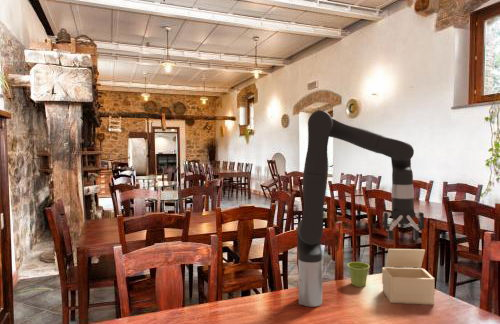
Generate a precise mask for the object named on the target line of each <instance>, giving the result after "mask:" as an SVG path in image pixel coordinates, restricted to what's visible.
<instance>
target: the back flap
mask: <svg viewBox="0 0 500 324" xmlns="http://www.w3.org/2000/svg"><path fill="white" fill-rule="evenodd" d="M425 253H426V249H422V248H421V249H420V248H414V249H413V248H388V250H387V255H386V261H385V267H388V268H422V263H423V261H424V256H425Z"/></svg>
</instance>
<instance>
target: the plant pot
mask: <svg viewBox="0 0 500 324" xmlns="http://www.w3.org/2000/svg"><path fill="white" fill-rule="evenodd" d="M347 268H348V270H349V276H350V282H351V283H350V284H351V285H352V286H354V287H359V288H362V287H365V286H366V285H367V277H368V272H369V269H370V265H369V264H368V263H365V262H361V261H351V262H348V263H347Z"/></svg>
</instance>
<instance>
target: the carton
mask: <svg viewBox="0 0 500 324" xmlns="http://www.w3.org/2000/svg"><path fill="white" fill-rule="evenodd" d="M381 270H382V271H381V273H382V275H381V277H382V278H381V281H382V283H381V284H382V292H383V293H384V295H385V296H386V297H387V299H388V301H389V303H391V304H405V305H407V304H410V305H411V304H412V305H432V306H433V305H435V290H436V289H435V284H436V283H435V279H436V278H435V277H434V276H433V275H431V273H429V272H428V271H427V270H426V269H425V268H423V267H386V266H385V267H381Z"/></svg>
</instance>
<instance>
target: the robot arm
mask: <svg viewBox="0 0 500 324" xmlns="http://www.w3.org/2000/svg"><path fill="white" fill-rule="evenodd" d="M307 128H308V129H307V135H308V137H307V139H308V140H307V142H308V143H307V149H306V150H307V151H306V156H305V161H304V168H303V176H302V178H303V179H302V198H303V213H302V218H301V220H299V222H298V224H297V228H296V233H297V235H296V236H297V237H296V240H297V241H296V242H297V245H296V246H297V257H298V258H297V259H298V260H297V262H298V305H301V306H305V307H312V308H313V307H319V306H321V305H322V304H323V253H322V247H321V246H322V245H321V239H322V237H323V235H324V234H323V233H324V223H323V222H324V221H323V220H324V218H323V217H324V213H323V212H324V204H325V198H326V193H327V192H326V191H327V185H328V176H329V175H328V174H329V161H328V157H329V156H328V144H329V138H334V139H337V140H341V141H344V142H346V143H349V144H352V145H354V146H356V147H359V148H361V149H364V150H368V151H370V152H372V153H375V154H379V155H383V156H386V157H388V158H390V160H391V168H392V169H391V170H392V174H391V211H390V212H388V211H387V212H386V211H383V212H382V223H381V224H382V228H383V229H385V230H387V237H388V239H389V240H390V241H394V230H393V229H394V228H395V227H397V226H398V225H404V224H405V225H411V226H412V228H413V229H412V237H413V238H412V239H413V241H418V240H419V238H420V235H419V234H420V233H419V232H420V230H423V229H425V218H424V217H425V215H424V214H425V213H424V212H422V211H417V212H416V211H415V192H414V173H413V170H412V162H411V161H412V159H413V157H414V153H415V150H414V147H413V146H412V145H411V144H410V143H409V142H405V141H402V140H399V139H394V138H392V137H388V136H386V135H384V134H381V133H378V132H374V131H372V130H368V129H365V128H361V127H356V126H353V125H348V124H346V123H344V122H341V121H339V120H337V119H335V118H333V117H332V116H331V115H330V113H328V112H327V111H326V110H316V111H314V112H312V113H311V114H310V116H309V118H308V120H307ZM390 217H392V219H391V221H390V223H389V221H388V220H389V218H390ZM415 217H416V218H417V219H418V220H417V221H418V225H417V223H416V222H415V221H414V218H415ZM388 223H389V224H388Z"/></svg>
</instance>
